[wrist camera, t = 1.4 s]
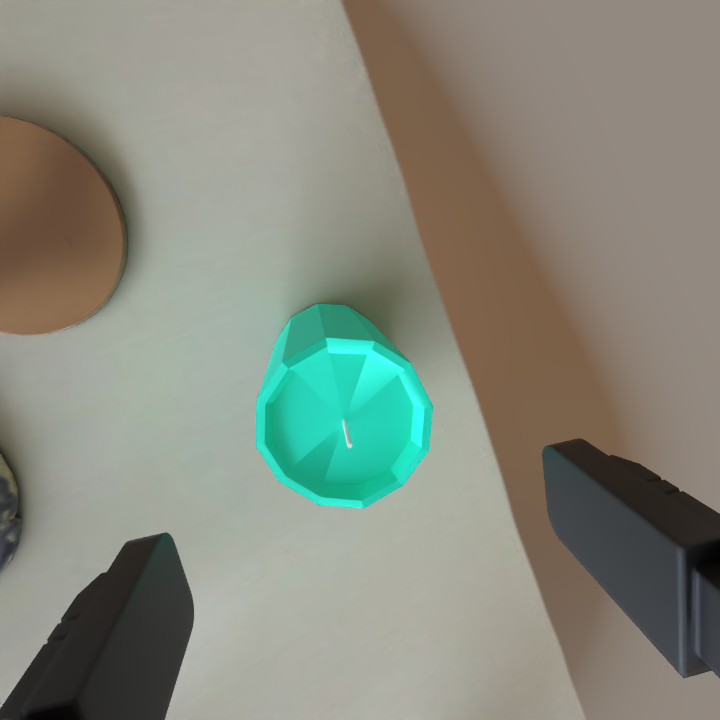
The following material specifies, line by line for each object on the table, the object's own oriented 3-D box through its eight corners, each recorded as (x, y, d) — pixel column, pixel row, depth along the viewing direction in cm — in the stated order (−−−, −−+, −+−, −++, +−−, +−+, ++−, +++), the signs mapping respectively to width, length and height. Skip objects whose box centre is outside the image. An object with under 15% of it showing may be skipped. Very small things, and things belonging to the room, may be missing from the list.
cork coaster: (-136, 259, 21) (-148, 259, 21) (-41, 69, 20) (-51, 63, 19) (68, 370, 23) (62, 373, 23) (165, 205, 22) (162, 204, 22)
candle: (391, 394, 26) (461, 509, 14) (288, 418, 25) (274, 556, 14) (371, 291, 24) (431, 326, 13) (262, 315, 24) (222, 373, 12)
